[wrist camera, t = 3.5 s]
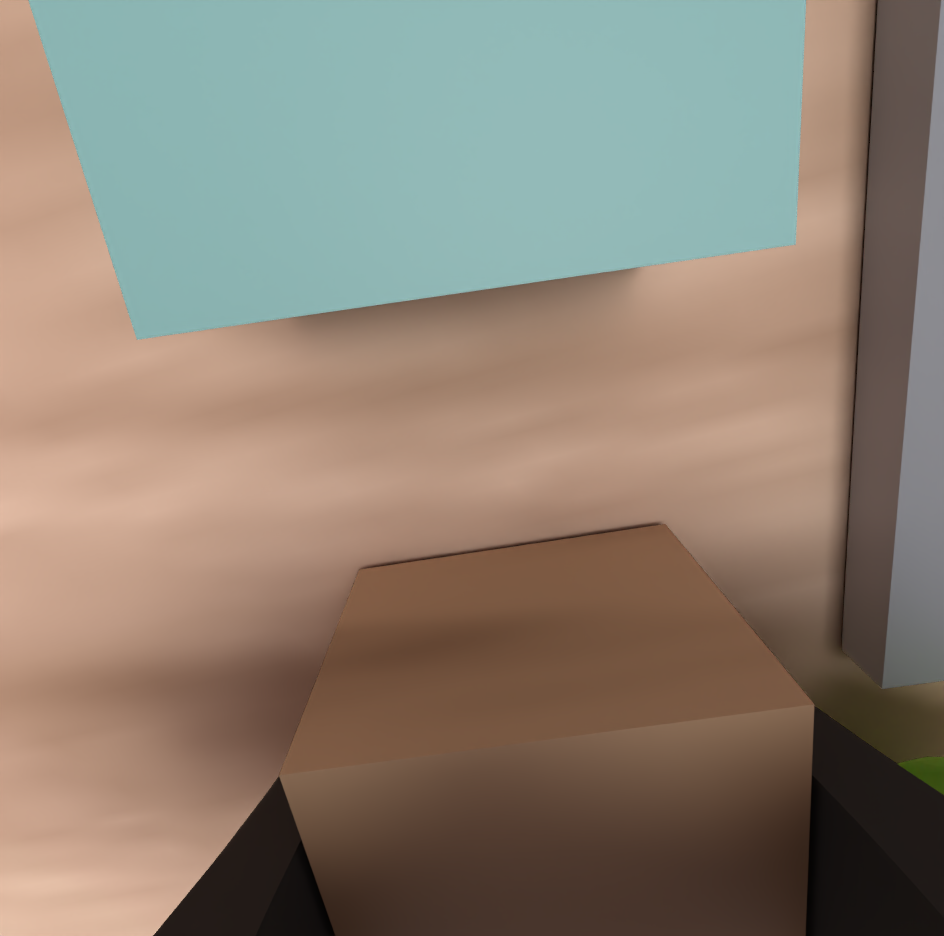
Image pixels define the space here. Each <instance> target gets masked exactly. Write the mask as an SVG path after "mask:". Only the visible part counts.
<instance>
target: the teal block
mask: <svg viewBox="0 0 944 936" xmlns="http://www.w3.org/2000/svg"><path fill="white" fill-rule="evenodd" d="M29 3H30V7H31V10H32V13H33V16H34V19H35V22H36V25H37V28H38V32H39V35H40V38H41V41H42V44H43V47H44V50H45V54H46V57H47V60H48V63H49V66H50V69H51V72H52V75H53V79H54V82H55V85H56V88H57V91H58V94H59V97H60V100H61V104H62V107H63V110H64V113H65V116H66V119H67V122H68V125H69V129H70V132H71V135H72V138H73V141H74V144H75V147H76V150H77V154H78V157H79V160H80V163H81V166H82V169H83V172H84V175H85V179H86V182H87V185H88V188H89V191H90V194H91V197H92V200H93V204H94V207H95V210H96V213H97V216H98V219H99V222H100V225H101V229H102V232H103V235H104V238H105V241H106V244H107V247H108V250H109V254H110V257H111V260H112V263H113V266H114V269H115V272H116V275H117V279H118V282H119V285H120V288H121V291H122V294H123V297H124V300H125V304H126V307H127V310H128V313H129V316H130V319H131V322H132V325H133V329H134V332H135V335H136V338H137V340H138V339H145V338H152V337H159V336H166V335H173V334H180V333H187V332H193V331H200V330H207V329H214V328H221V327H228V326H235V325H242V324H249V323H256V322H263V321H270V320H277V319H283V318H290V317H297V316H304V315H311V314H318V313H325V312H332V311H339V310H346V309H353V308H360V307H367V306H374V305H380V304H387V303H394V302H401V301H408V300H415V299H422V298H429V297H436V296H443V295H450V294H457V293H464V292H470V291H477V290H484V289H491V288H498V287H505V286H512V285H519V284H526V283H533V282H540V281H547V280H554V279H560V278H567V277H574V276H581V275H588V274H595V273H602V272H609V271H616V270H623V269H630V268H637V267H644V266H650V265H657V264H664V263H671V262H678V261H685V260H692V259H699V258H706V257H713V256H720V255H727V254H734V253H740V252H747V251H754V250H761V249H768V248H775V247H782V246H789V245H796V223H797V200H798V176H799V153H800V129H801V106H802V83H803V59H804V36H805V12H806V0H29Z"/></svg>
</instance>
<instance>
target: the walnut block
mask: <svg viewBox="0 0 944 936" xmlns="http://www.w3.org/2000/svg"><path fill="white" fill-rule="evenodd" d="M813 728H814V703H813V702H812V701H811V700H810V698H809V697H808V696H807V695H806V694H805V692H804V691H803V690H802V689H801V687H800V686H799V685H798V684H797V683H796V681H795V680H794V679H793V678H792V677H791V675H790V674H789V673H788V672H787V671H786V669H785V668H784V667H783V666H782V665H781V663H780V662H779V661H778V660H777V658H776V657H775V656H774V655H773V654H772V652H771V651H770V650H769V649H768V648H767V646H766V645H765V644H764V643H763V642H762V640H761V639H760V638H759V637H758V636H757V634H756V633H755V632H754V631H753V630H752V628H751V627H750V626H749V625H748V623H747V622H746V621H745V620H744V619H743V617H742V616H741V615H740V614H739V613H738V611H737V610H736V609H735V608H734V607H733V605H732V604H731V603H730V602H729V601H728V599H727V598H726V597H725V596H724V594H723V593H722V592H721V591H720V590H719V588H718V587H717V586H716V585H715V584H714V582H713V581H712V580H711V579H710V578H709V576H708V575H707V574H706V573H705V572H704V570H703V569H702V568H701V567H700V565H699V564H698V563H697V562H696V561H695V559H694V558H693V557H692V556H691V555H690V553H689V552H688V551H687V550H686V549H685V547H684V546H683V545H682V544H681V543H680V541H679V540H678V539H677V538H676V536H675V535H674V534H673V533H672V532H671V530H670V529H669V528H668V527H667V526H666V524H662V525H655V526H648V527H642V528H635V529H628V530H622V531H615V532H608V533H602V534H595V535H588V536H581V537H575V538H568V539H561V540H555V541H548V542H541V543H535V544H528V545H521V546H514V547H508V548H501V549H494V550H488V551H481V552H474V553H468V554H461V555H454V556H448V557H441V558H434V559H427V560H421V561H414V562H407V563H401V564H394V565H387V566H381V567H374V568H367V569H360V570H359V572H358V574H357V577H356V579H355V582H354V584H353V587H352V589H351V592H350V595H349V597H348V600H347V602H346V605H345V607H344V610H343V613H342V615H341V618H340V620H339V623H338V625H337V628H336V630H335V633H334V636H333V638H332V641H331V643H330V646H329V648H328V651H327V653H326V656H325V659H324V661H323V664H322V666H321V669H320V671H319V674H318V677H317V679H316V682H315V684H314V687H313V689H312V692H311V694H310V697H309V700H308V702H307V705H306V707H305V710H304V712H303V715H302V717H301V720H300V723H299V725H298V728H297V730H296V733H295V735H294V738H293V741H292V743H291V746H290V748H289V751H288V753H287V756H286V758H285V761H284V764H283V766H282V769H281V771H280V774H279V777H280V780H281V783H282V785H283V788H284V791H285V794H286V797H287V800H288V803H289V805H290V808H291V811H292V814H293V817H294V820H295V822H296V825H297V828H298V831H299V834H300V837H301V839H302V842H303V845H304V848H305V851H306V854H307V856H308V859H309V862H310V865H311V868H312V871H313V874H314V876H315V879H316V882H317V885H318V888H319V891H320V893H321V896H322V899H323V902H324V905H325V908H326V910H327V913H328V916H329V919H330V922H331V925H332V927H333V930H334V933H335V936H806V910H807V884H808V858H809V832H810V806H811V780H812V754H813Z"/></svg>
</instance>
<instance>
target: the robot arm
mask: <svg viewBox="0 0 944 936" xmlns="http://www.w3.org/2000/svg"><path fill="white" fill-rule="evenodd" d="M153 936H335V933H334V930H333V927H332V925H331V922H330V919H329V916H328V913H327V910H326V908H325V905H324V902H323V899H322V896H321V893H320V891H319V888H318V885H317V882H316V879H315V876H314V874H313V871H312V868H311V865H310V862H309V859H308V856H307V854H306V851H305V848H304V845H303V842H302V839H301V837H300V834H299V831H298V828H297V825H296V822H295V820H294V817H293V814H292V811H291V808H290V805H289V803H288V800H287V797H286V794H285V791H284V788H283V785H282V783H281V780H280V777H278V778H277V780H276V781H275V782H274V784H273V785H272V787H271V788H270V789H269V791H268V792H267V793H266V795H265V796H264V797H263V799H262V800H261V801H260V803H259V804H258V805H257V807H256V808H255V809H254V810H253V812H252V813H251V814H250V816H249V817H248V818H247V820H246V821H245V822H244V824H243V825H242V826H241V827H240V829H239V830H238V831H237V833H236V834H235V835H234V837H233V838H232V839H231V841H230V842H229V843H228V844H227V846H226V847H225V848H224V850H223V851H222V852H221V854H220V855H219V856H218V857H217V859H216V860H215V861H214V862H213V864H212V865H211V866H210V867H209V869H208V870H207V871H206V872H205V873H204V875H203V876H202V877H201V878H200V880H199V881H198V882H197V883H196V884H195V886H194V887H193V888H192V889H191V891H190V892H189V893H188V894H187V895H186V897H185V898H184V899H183V900H182V901H181V903H180V904H179V905H178V906H177V908H176V909H175V910H174V911H173V912H172V914H171V915H170V916H169V917H168V919H167V920H166V921H165V922H164V923H163V925H162V926H161V927H160V928H159V929H158V931H157V932H156V933H155V934H154V935H153ZM806 936H944V795H943V794H942V793H940V792H939V791H937V790H936V789H934V788H933V787H931V786H930V785H928V784H927V783H925V782H924V781H922V780H920V779H919V778H917V777H916V776H914V775H913V774H911V773H910V772H908V771H907V770H905V769H904V768H903V767H901V766H900V765H898V764H897V763H895V762H894V761H892V760H891V759H889V758H888V757H886V756H885V755H883V754H882V753H881V752H879V751H878V750H876V749H875V748H873V747H872V746H870V745H869V744H868V743H866V742H865V741H863V740H862V739H860V738H859V737H857V736H856V735H855V734H853V733H852V732H850V731H849V730H848V729H846V728H845V727H843V726H842V725H841V724H839V723H838V722H836V721H835V720H833V719H832V718H831V717H829V716H828V715H827V714H825V713H824V712H822V711H821V710H820V709H818V708H817V707H815V706H814V728H813V754H812V780H811V806H810V832H809V858H808V884H807V910H806Z"/></svg>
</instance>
